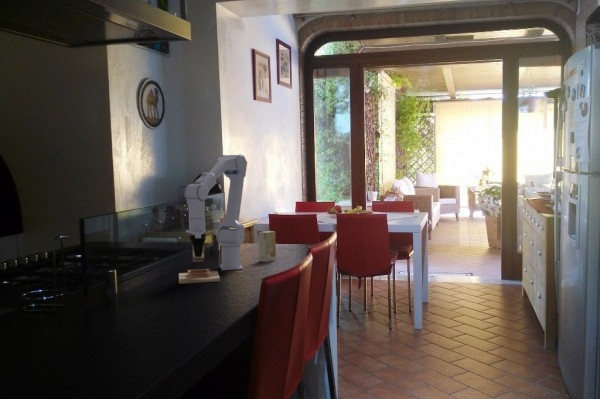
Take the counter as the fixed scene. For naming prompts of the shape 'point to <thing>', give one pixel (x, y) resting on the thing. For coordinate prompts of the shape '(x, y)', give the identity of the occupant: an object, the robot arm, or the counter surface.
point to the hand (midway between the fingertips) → (198, 255)
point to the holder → (198, 276)
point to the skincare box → (267, 246)
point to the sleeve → (198, 259)
